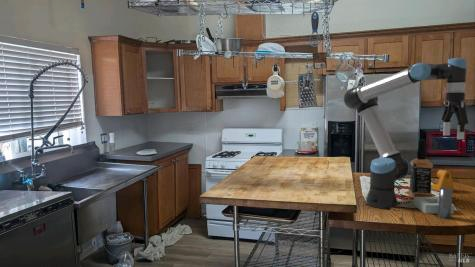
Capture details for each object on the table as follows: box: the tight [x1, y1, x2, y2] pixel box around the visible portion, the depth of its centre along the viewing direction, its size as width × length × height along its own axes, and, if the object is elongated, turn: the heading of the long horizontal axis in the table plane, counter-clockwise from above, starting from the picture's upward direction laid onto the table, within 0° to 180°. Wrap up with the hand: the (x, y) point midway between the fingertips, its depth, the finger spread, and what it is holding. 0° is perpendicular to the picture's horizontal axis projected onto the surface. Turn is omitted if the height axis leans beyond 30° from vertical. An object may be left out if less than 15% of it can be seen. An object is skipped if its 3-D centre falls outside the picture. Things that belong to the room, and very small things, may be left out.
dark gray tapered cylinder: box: [437, 188, 453, 220], centre depth 163 cm, size 5×5×14 cm
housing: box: [412, 196, 455, 215], centre depth 175 cm, size 13×13×5 cm
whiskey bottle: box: [408, 139, 434, 199], centre depth 194 cm, size 10×10×32 cm
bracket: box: [431, 169, 454, 192], centre depth 210 cm, size 11×7×12 cm, turn 113°
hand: (453, 137), depth 170 cm, fingers open, 13 cm apart
